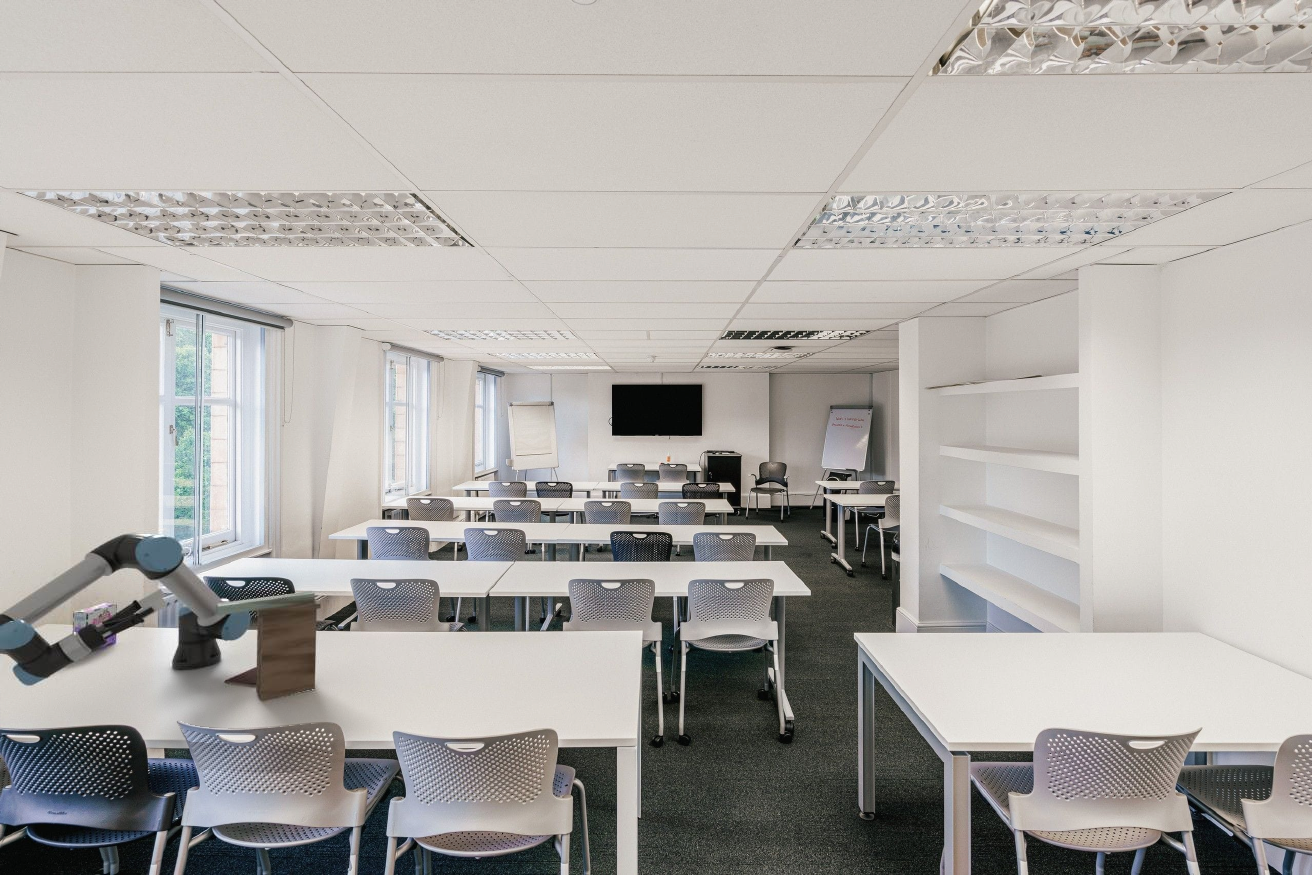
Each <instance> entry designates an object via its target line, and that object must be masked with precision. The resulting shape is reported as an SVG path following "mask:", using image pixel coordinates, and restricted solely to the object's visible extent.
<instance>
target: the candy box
mask: <svg viewBox="0 0 1312 875" xmlns="http://www.w3.org/2000/svg"><path fill="white" fill-rule="evenodd" d="M117 605H118V603H114V602H113V603H109V602H106V603H105V602H102V603H101V604H97V605H95V606H91V607H87V608H84V609H79V610H77V611H73V614H72V617H73V618H72V633H74V632H75V633H78V631H79V630H80V629H82V628H84V627H85V626H87V625H89V624H95V625H96V626H97V627H100V626H101V625H103V624H102V622H103V621H105V620H107V619H108V618H110V617H112V616H113V615H115V614H116V613H118V606H117ZM116 643H117V634H115V635H113V636H111V637H109V638H108V639H107V643H106V644H105V645H103V646H101V647H99V648H98V649H96V650H99V649H102V648H105V647H107V646H109V645H112V644H116ZM96 650H91V652H93V651H96Z"/></svg>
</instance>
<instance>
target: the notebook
mask: <svg viewBox="0 0 1312 875" xmlns="http://www.w3.org/2000/svg"><path fill="white" fill-rule="evenodd" d="M256 673H257V666H255V667H253V668H250V669H248V670H245V671H244V672H241V673H239V674H237V675H234V676H232V677H230V678H227V679H225V680H224V682H223V683H224V684H230V685H237V686H243V687H244V686H245V687H253V688H256Z"/></svg>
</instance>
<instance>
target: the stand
mask: <svg viewBox="0 0 1312 875" xmlns="http://www.w3.org/2000/svg"><path fill="white" fill-rule="evenodd" d="M321 606H322V605H321V603H320V601H318V600H317V599H316V598H315V602H310V603H303V604H296V605H289V606H282V607H275V608H268V609H262V610H255V613H256V614H257V624H256V625H257V626H256V627H257V629H256V630H257V631H256V632H257V633H256V634H257V635H256V640H257V641H256V667H257V673H256V687H255V693H256V694H257V696H258V698H259V700H260V702H266V701H270V700H274V699H279V698H283V697H282V696H284V697H287V696H286V695H288V696H292V695H291V694H293V695H296V694H295V693H297V694H299V693H298V692H302V693H304V692H303V691H306V692H308V691H307V690H310V691H313V690H312V689H316V661H317V660H316V658H317V657H316V653H317V652H316V651H317V650H316V649H317V611H318V609H321V608H322V607H321Z"/></svg>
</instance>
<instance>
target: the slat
mask: <svg viewBox="0 0 1312 875" xmlns="http://www.w3.org/2000/svg"><path fill="white" fill-rule="evenodd" d="M315 597H316V592H314V591H312V590H309V591H302V592H295V593H287V594H280V595H271V596H265V597H257V598H249V599H242V600H233V601H230V602H226V603H218V604H217V609H216V613H217V615H218V616H220V615H227V614H234V613H241V612H254V611H255V610H262V609H268V608H275V607H282V606H289V605H296V604H303V603H310V602H315V599H316V598H315ZM255 612H256V611H255Z"/></svg>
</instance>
